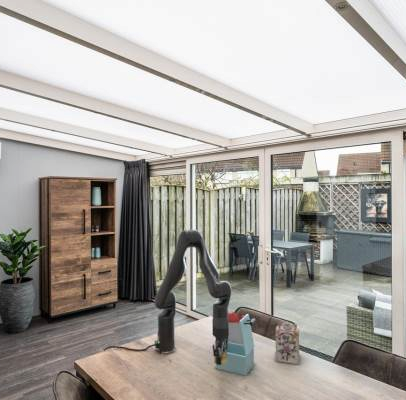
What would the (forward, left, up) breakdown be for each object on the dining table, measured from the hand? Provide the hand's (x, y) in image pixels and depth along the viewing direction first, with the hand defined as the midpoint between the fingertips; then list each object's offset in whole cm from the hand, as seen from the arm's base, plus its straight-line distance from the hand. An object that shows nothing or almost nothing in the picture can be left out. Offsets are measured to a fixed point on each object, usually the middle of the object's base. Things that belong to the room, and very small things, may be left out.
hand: (220, 361), depth 152 cm
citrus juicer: (+21, +34, -9) cm, 41 cm away
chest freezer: (+12, +12, -9) cm, 19 cm away
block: (0, 0, 0) cm, 0 cm away
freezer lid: (+17, +8, +8) cm, 20 cm away
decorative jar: (+42, +12, -9) cm, 45 cm away
